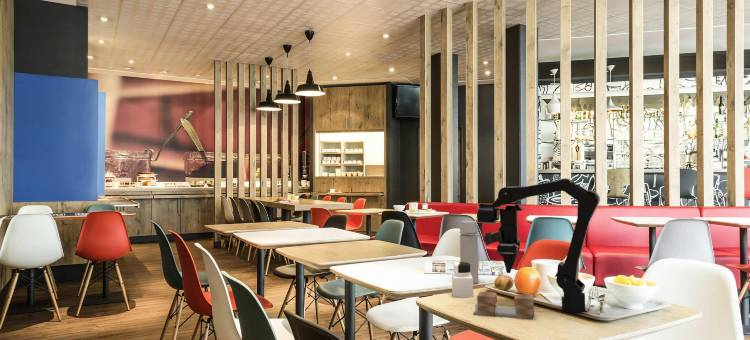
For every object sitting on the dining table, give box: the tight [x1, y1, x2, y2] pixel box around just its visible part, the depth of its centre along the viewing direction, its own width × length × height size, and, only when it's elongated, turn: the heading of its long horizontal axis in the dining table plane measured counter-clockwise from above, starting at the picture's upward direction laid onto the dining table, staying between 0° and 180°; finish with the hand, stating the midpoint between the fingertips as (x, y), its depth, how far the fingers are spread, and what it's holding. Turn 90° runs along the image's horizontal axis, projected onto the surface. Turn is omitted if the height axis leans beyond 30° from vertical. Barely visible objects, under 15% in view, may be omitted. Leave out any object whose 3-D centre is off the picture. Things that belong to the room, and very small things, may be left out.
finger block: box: [476, 291, 498, 317], centre depth 160 cm, size 5×6×6 cm
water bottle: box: [459, 220, 484, 285], centre depth 209 cm, size 9×8×25 cm
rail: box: [472, 303, 535, 321], centre depth 159 cm, size 18×6×3 cm, turn 70°
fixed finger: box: [513, 293, 535, 321], centre depth 157 cm, size 5×6×6 cm
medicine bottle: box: [451, 261, 474, 298], centre depth 188 cm, size 7×7×12 cm
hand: (509, 270), depth 172 cm, fingers open, 9 cm apart
